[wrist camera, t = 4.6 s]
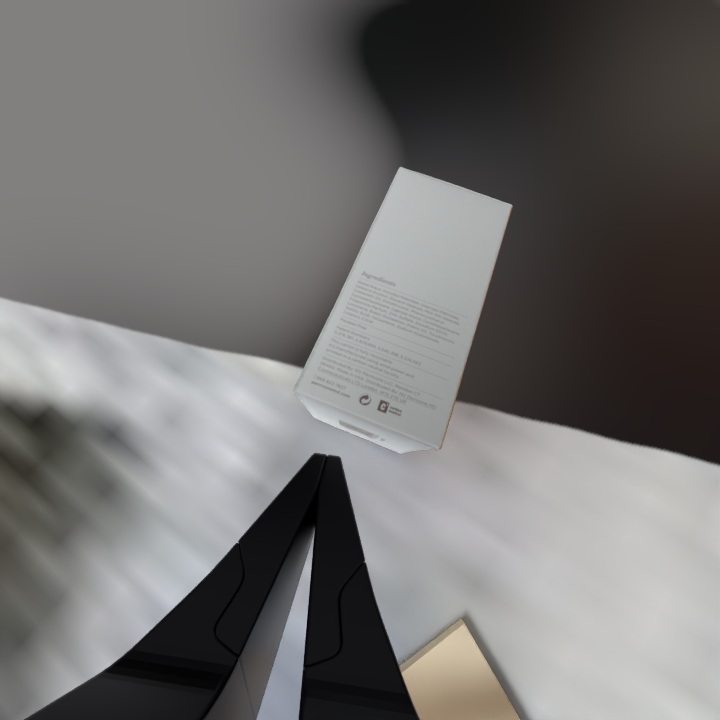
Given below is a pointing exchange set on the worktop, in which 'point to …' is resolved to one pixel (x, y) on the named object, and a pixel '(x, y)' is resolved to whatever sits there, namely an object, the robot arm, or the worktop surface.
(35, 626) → the worktop surface
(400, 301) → the small box
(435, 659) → the wooden turner
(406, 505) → the worktop surface
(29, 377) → the worktop surface
